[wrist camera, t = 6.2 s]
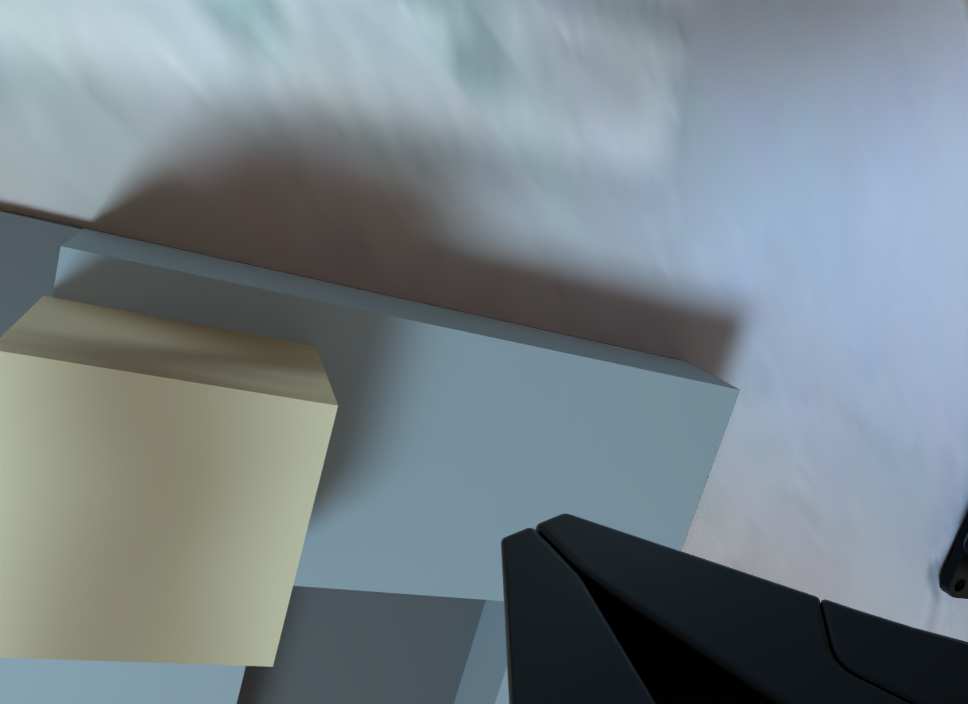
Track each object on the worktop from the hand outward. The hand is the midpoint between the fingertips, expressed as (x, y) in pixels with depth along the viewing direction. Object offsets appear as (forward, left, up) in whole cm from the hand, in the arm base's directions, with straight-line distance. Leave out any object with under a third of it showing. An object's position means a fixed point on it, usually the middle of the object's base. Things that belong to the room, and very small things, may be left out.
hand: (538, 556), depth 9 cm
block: (+4, +3, -8) cm, 9 cm away
